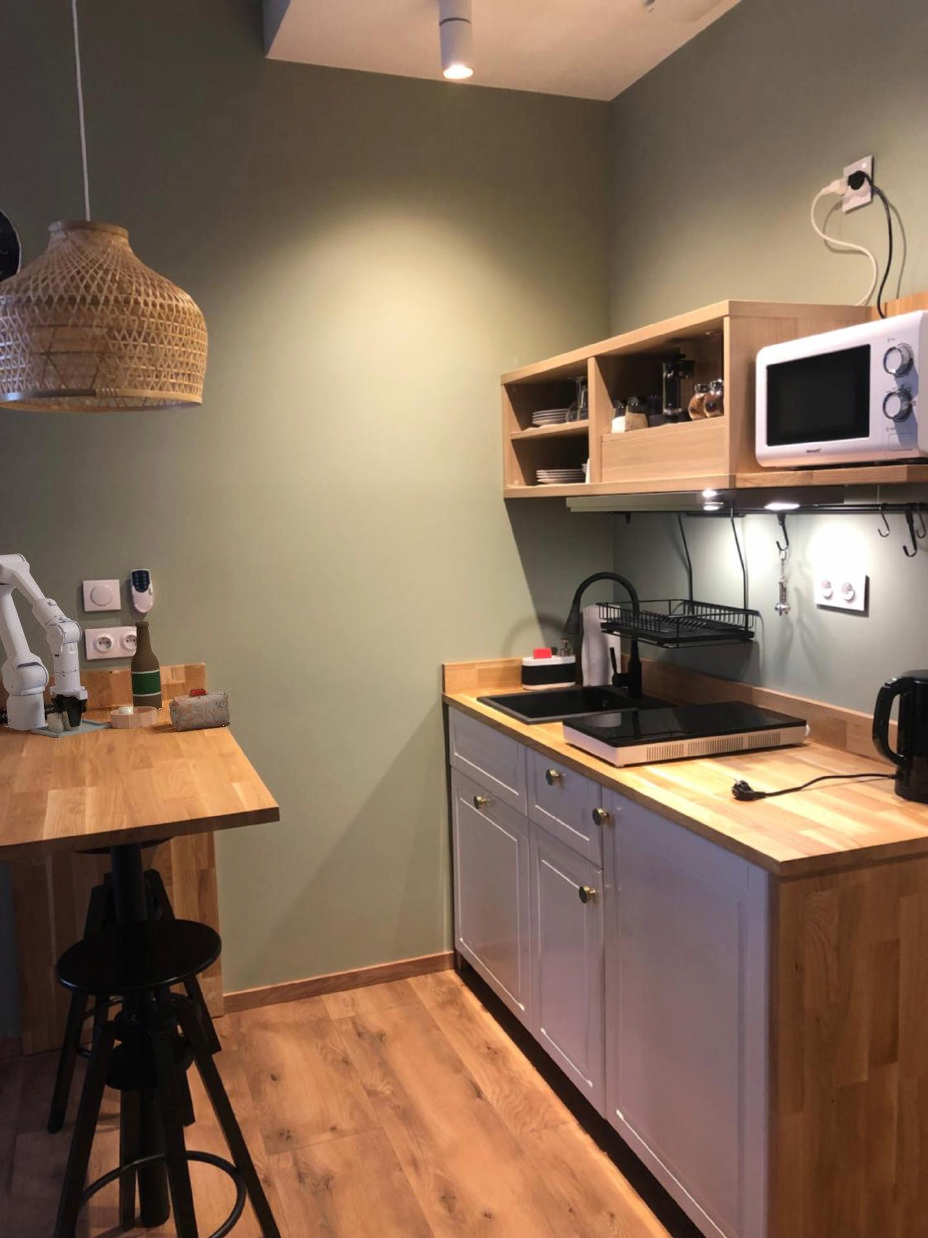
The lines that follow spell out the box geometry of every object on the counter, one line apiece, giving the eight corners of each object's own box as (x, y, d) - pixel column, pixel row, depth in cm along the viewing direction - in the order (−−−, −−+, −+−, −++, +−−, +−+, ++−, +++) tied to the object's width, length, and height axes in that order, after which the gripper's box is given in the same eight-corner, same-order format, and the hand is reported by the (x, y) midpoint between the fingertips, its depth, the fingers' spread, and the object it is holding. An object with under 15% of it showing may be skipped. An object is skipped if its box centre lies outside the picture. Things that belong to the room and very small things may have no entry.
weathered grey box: (174, 734, 248) (171, 693, 247) (169, 728, 256) (166, 688, 255) (231, 727, 254) (229, 687, 253) (225, 721, 261) (222, 683, 260)
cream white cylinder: (117, 725, 258) (115, 707, 257) (130, 722, 260) (128, 705, 260) (123, 727, 255) (122, 709, 255) (136, 724, 258) (135, 706, 257)
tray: (31, 733, 254) (30, 729, 254) (84, 723, 265) (83, 718, 265) (57, 739, 246) (57, 734, 246) (111, 729, 256) (111, 724, 256)
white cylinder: (45, 733, 252) (44, 714, 252) (59, 730, 255) (57, 712, 254) (52, 734, 250) (51, 716, 249) (66, 731, 252) (64, 713, 252)
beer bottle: (158, 712, 277) (152, 622, 274) (129, 713, 277) (122, 624, 274) (166, 706, 284) (160, 619, 282) (137, 707, 284) (131, 620, 282)
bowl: (102, 727, 259) (101, 712, 259) (141, 719, 267) (140, 705, 267) (127, 732, 252) (125, 716, 251) (166, 724, 260) (165, 709, 260)
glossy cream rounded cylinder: (61, 729, 255) (59, 711, 255) (74, 727, 258) (72, 709, 257) (68, 731, 253) (66, 713, 252) (81, 728, 255) (79, 710, 255)
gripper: (97, 670, 252) (101, 726, 253) (67, 666, 261) (71, 719, 263) (70, 675, 247) (74, 731, 248) (40, 670, 256) (44, 724, 258)
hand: (71, 725), depth 255 cm, fingers closed on glossy cream rounded cylinder, 3 cm apart
